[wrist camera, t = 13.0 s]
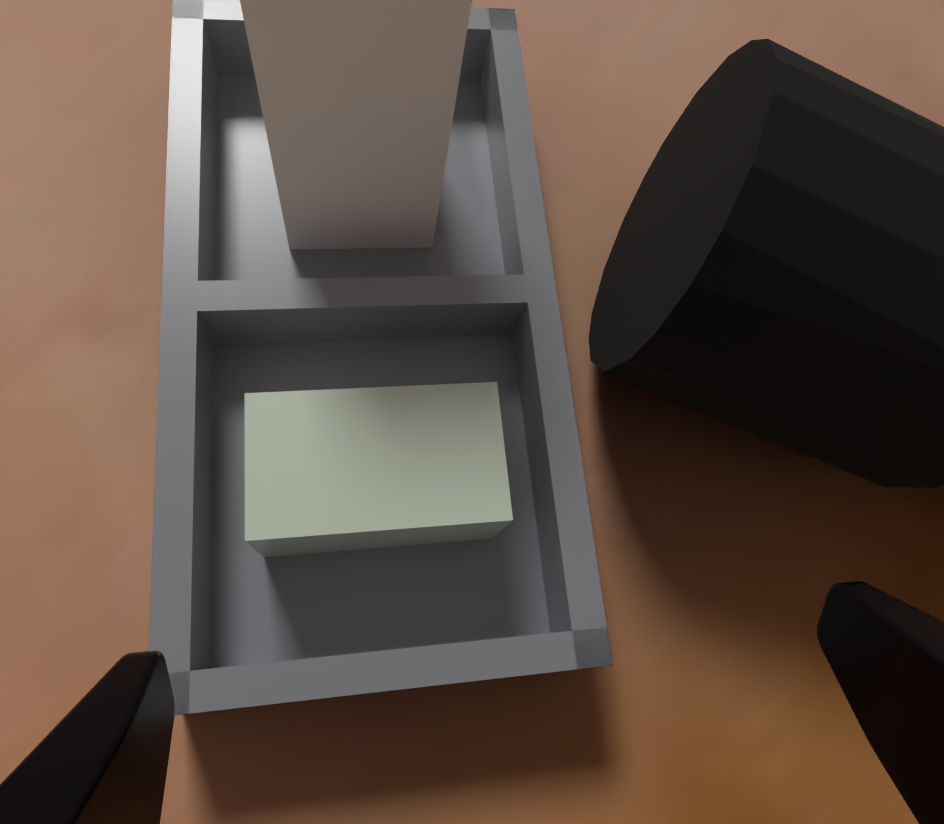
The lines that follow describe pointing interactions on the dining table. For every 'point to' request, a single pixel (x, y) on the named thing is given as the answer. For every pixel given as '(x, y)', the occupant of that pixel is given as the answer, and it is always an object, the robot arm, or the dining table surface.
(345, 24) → the cream block
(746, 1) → the dining table surface
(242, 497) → the tray
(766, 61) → the black and white bottle
